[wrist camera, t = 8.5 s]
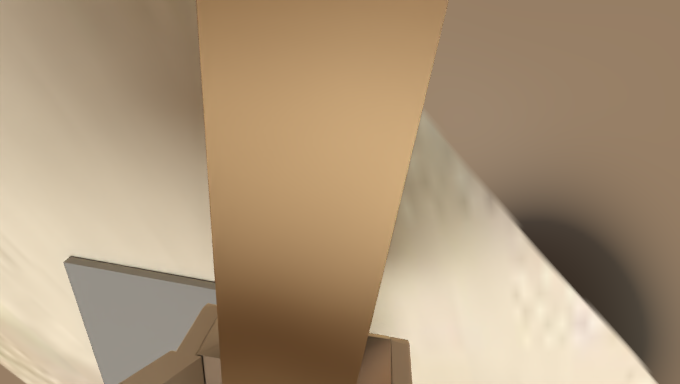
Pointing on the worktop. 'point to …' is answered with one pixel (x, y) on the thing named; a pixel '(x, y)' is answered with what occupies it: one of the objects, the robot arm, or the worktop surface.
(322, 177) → the wooden t-shaped stand
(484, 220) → the worktop surface
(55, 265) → the worktop surface
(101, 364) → the mat
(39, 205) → the worktop surface
